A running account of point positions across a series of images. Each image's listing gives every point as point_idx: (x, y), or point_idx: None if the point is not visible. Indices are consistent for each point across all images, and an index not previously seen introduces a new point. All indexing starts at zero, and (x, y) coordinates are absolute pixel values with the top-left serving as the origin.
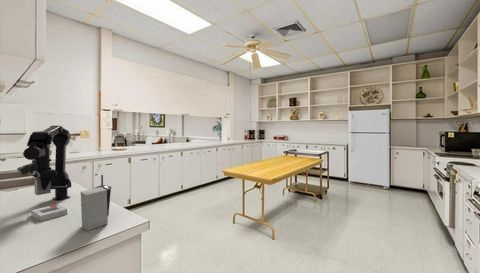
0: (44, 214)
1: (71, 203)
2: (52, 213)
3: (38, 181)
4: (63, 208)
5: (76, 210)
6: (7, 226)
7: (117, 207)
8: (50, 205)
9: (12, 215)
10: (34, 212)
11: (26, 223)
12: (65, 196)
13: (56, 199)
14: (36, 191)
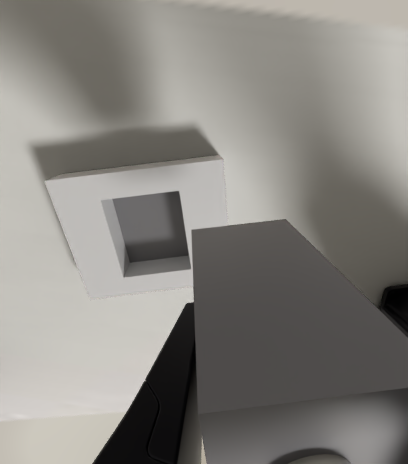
0: (61, 203)
1: None
2: (68, 237)
3: (199, 402)
4: (116, 289)
5: (130, 316)
6: (94, 8)
7: (52, 413)
8: None
9: (322, 68)
10: (159, 166)
11: (78, 111)
12: None
13: (394, 289)
14: (225, 244)
